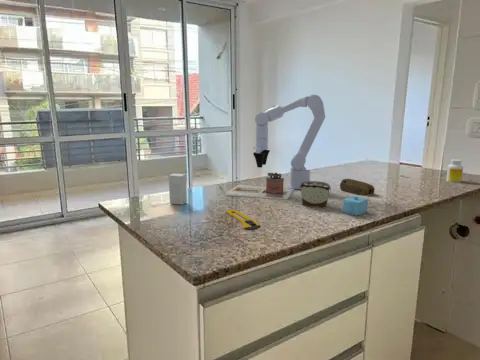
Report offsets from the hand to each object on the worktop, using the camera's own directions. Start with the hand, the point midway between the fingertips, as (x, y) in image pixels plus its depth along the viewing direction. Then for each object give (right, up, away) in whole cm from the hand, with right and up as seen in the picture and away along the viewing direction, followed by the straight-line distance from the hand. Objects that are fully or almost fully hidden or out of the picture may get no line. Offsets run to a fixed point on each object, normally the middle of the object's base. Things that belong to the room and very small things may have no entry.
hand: (261, 166), depth 178 cm
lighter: (+5, -14, -12) cm, 19 cm away
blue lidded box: (+31, -21, -43) cm, 57 cm away
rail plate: (-1, -13, -10) cm, 17 cm away
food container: (+20, -18, -31) cm, 41 cm away
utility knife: (-10, -22, -49) cm, 54 cm away
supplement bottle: (+96, -10, +6) cm, 97 cm away
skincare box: (-36, -17, -26) cm, 47 cm away
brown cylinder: (+42, -14, -13) cm, 46 cm away
